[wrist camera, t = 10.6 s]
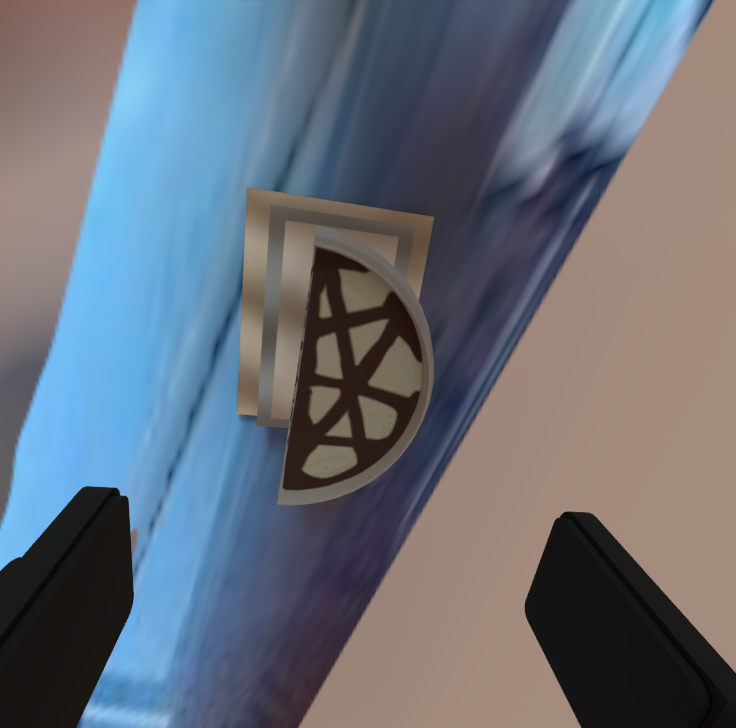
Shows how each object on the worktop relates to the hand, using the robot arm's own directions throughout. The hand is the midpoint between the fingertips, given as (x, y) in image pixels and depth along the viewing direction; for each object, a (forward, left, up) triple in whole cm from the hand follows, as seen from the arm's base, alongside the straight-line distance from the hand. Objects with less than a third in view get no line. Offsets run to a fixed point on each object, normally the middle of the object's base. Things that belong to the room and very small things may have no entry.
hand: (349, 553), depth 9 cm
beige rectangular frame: (0, 0, -22) cm, 22 cm away
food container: (0, +1, -18) cm, 18 cm away
